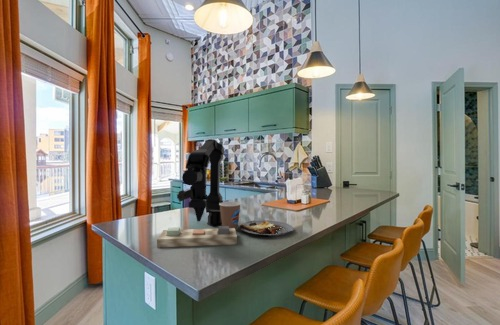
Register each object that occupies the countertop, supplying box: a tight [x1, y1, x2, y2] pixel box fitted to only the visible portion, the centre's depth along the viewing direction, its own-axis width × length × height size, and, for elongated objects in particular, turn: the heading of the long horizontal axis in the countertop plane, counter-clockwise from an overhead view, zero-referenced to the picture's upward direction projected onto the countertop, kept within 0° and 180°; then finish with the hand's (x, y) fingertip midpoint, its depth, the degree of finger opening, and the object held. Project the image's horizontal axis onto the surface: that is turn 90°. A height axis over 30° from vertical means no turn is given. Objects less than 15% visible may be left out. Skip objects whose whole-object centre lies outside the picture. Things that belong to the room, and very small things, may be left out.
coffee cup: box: [219, 201, 242, 231], centre depth 120 cm, size 10×10×12 cm
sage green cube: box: [166, 226, 181, 236], centre depth 101 cm, size 4×4×4 cm
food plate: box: [238, 219, 295, 237], centre depth 117 cm, size 25×23×4 cm
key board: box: [156, 228, 238, 248], centre depth 102 cm, size 30×12×3 cm, turn 98°
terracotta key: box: [193, 230, 205, 235], centre depth 102 cm, size 4×4×4 cm
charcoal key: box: [217, 225, 229, 234], centre depth 103 cm, size 4×4×4 cm
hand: (198, 221), depth 102 cm, fingers closed
